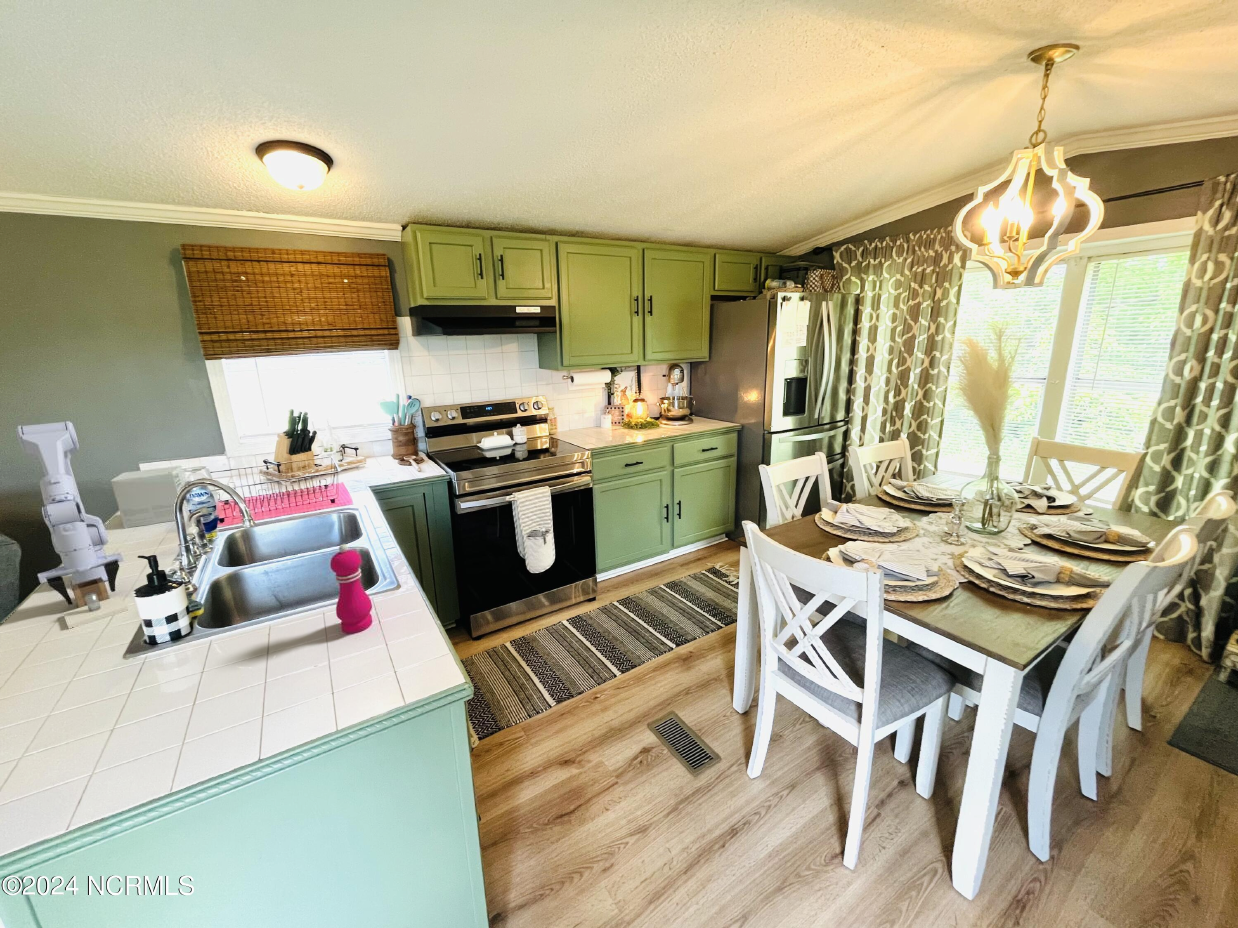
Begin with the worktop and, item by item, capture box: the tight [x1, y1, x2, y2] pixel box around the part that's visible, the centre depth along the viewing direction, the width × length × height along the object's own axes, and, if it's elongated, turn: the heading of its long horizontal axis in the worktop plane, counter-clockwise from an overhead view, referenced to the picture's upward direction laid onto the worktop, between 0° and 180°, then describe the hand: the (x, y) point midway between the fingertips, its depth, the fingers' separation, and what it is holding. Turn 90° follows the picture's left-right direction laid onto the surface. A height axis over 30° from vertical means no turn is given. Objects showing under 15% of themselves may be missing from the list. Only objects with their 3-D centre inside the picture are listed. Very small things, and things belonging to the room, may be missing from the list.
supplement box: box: [109, 465, 186, 529], centre depth 183 cm, size 17×13×18 cm
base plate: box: [62, 593, 129, 630], centre depth 120 cm, size 9×10×5 cm
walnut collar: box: [70, 577, 111, 608], centre depth 126 cm, size 5×5×5 cm
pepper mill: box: [330, 544, 373, 634], centre depth 111 cm, size 7×7×20 cm
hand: (92, 596), depth 126 cm, fingers open, 7 cm apart
